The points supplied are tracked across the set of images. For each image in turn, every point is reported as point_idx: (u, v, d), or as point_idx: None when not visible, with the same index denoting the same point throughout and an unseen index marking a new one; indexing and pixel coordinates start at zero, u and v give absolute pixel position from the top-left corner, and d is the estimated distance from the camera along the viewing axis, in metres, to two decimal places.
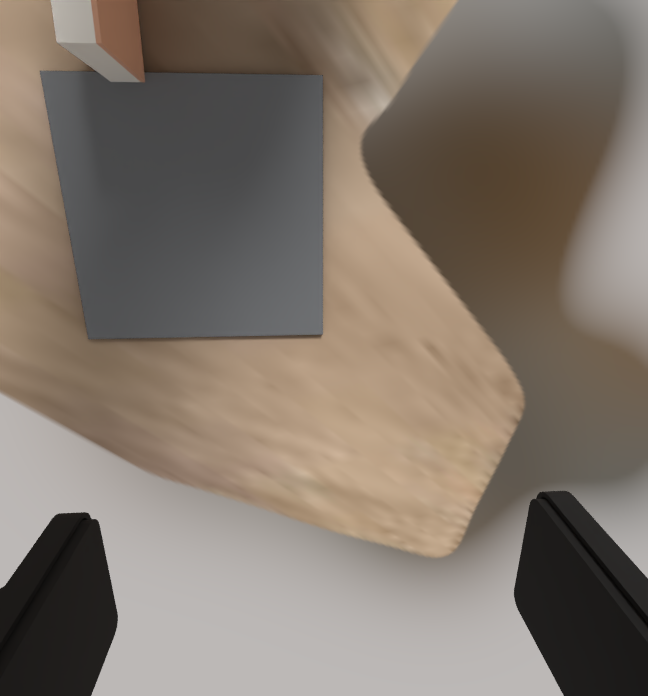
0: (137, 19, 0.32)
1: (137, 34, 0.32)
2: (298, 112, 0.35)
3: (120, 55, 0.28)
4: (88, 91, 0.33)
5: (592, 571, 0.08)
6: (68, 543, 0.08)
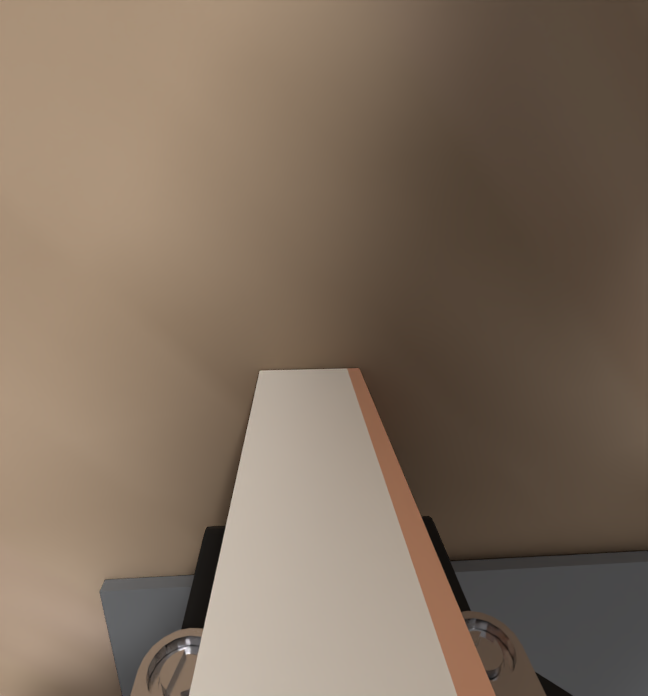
0: None
1: None
2: None
3: None
4: None
5: None
6: None
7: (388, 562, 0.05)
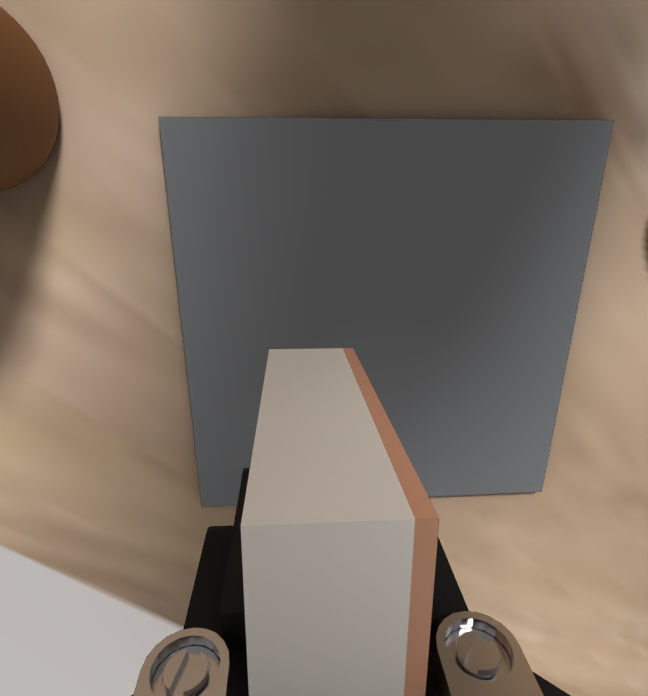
0: None
1: None
2: (564, 179, 0.21)
3: None
4: (235, 149, 0.20)
5: None
6: None
7: (372, 457, 0.07)
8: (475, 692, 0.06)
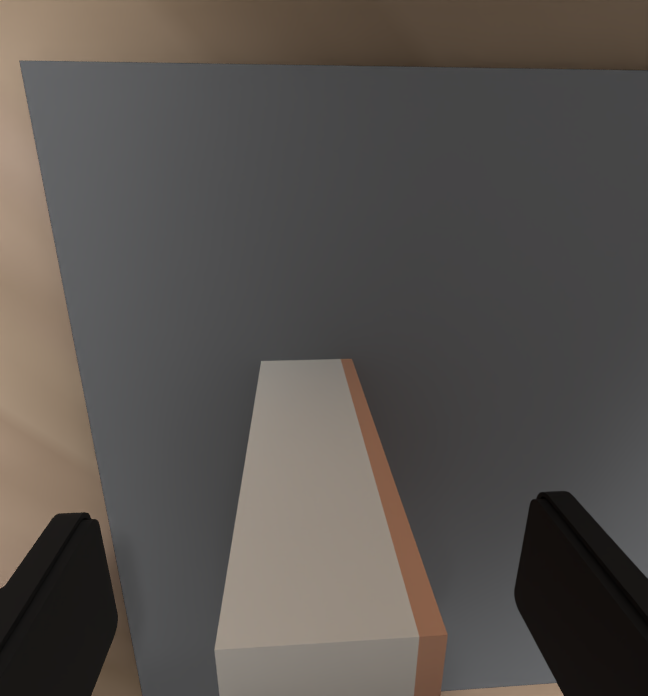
0: None
1: None
2: None
3: None
4: (179, 128, 0.10)
5: (592, 571, 0.08)
6: (68, 543, 0.08)
7: (370, 532, 0.06)
8: None
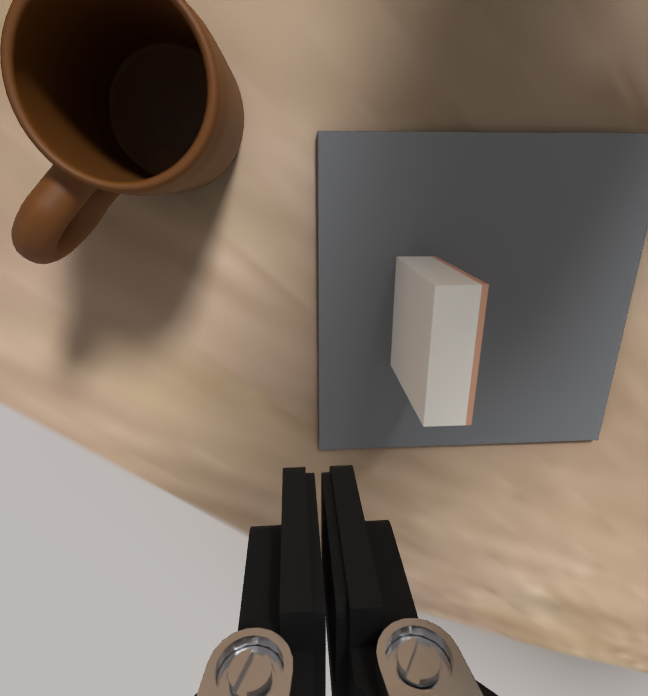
0: None
1: None
2: (629, 179, 0.27)
3: None
4: (374, 156, 0.26)
5: (330, 532, 0.09)
6: (308, 489, 0.10)
7: (464, 277, 0.22)
8: None
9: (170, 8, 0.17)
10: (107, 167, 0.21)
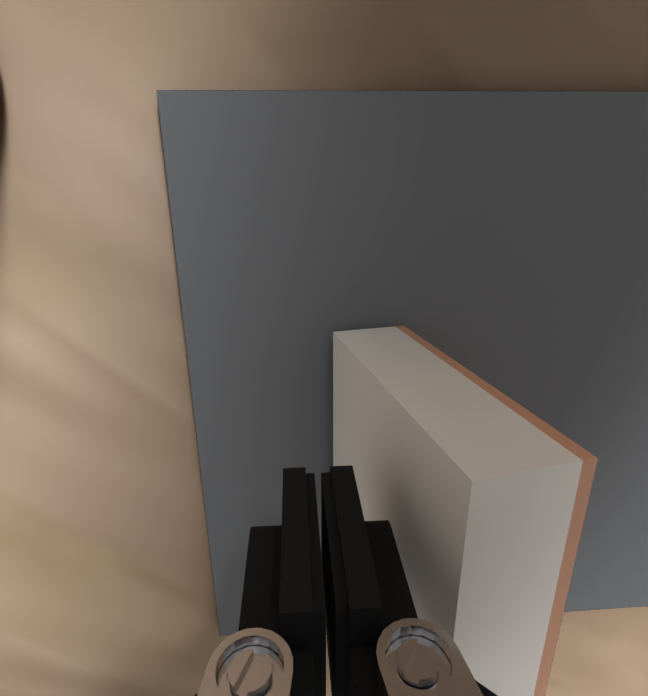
0: None
1: None
2: None
3: None
4: (275, 141, 0.13)
5: (330, 532, 0.09)
6: (308, 489, 0.10)
7: (513, 419, 0.09)
8: None
9: None
10: None
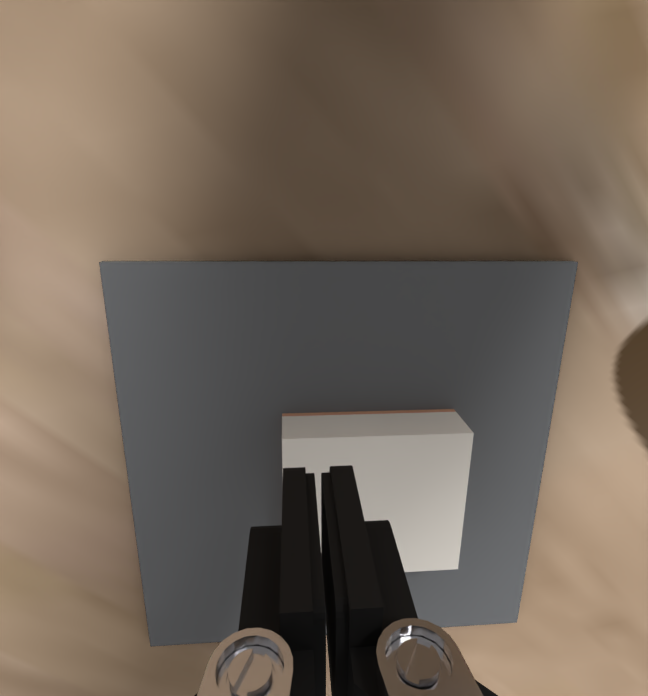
0: None
1: None
2: (529, 318, 0.21)
3: None
4: (182, 293, 0.19)
5: (330, 532, 0.09)
6: (308, 489, 0.10)
7: (424, 415, 0.21)
8: None
9: None
10: None
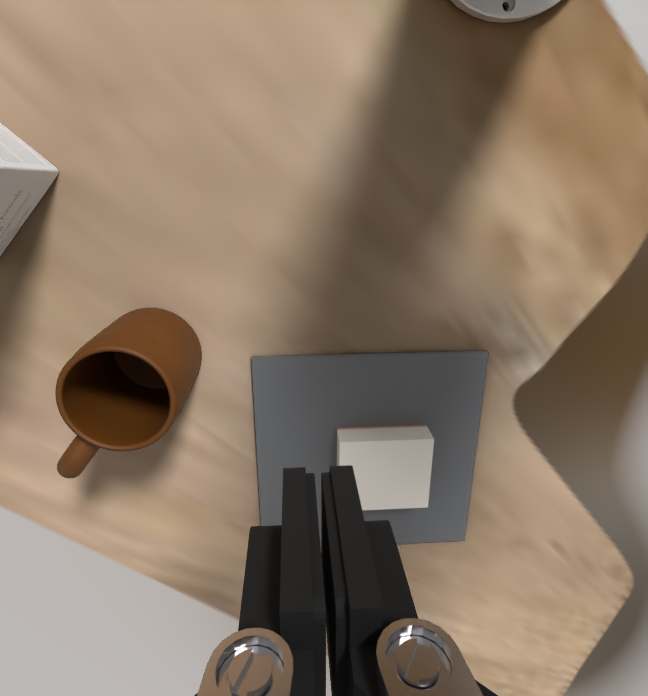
0: None
1: None
2: (464, 379, 0.40)
3: None
4: (289, 371, 0.39)
5: (330, 532, 0.09)
6: (308, 489, 0.10)
7: (410, 428, 0.41)
8: None
9: None
10: (113, 410, 0.34)
